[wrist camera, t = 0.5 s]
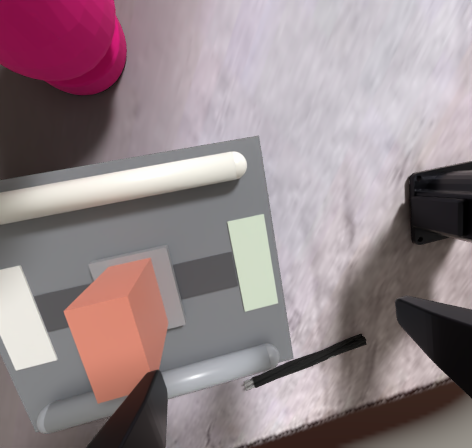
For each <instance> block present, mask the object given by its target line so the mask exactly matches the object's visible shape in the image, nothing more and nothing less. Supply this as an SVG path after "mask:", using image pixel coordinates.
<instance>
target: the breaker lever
mask: <svg viewBox="0 0 472 448" xmlns="http://www.w3.org/2000/svg"><path fill="white" fill-rule="evenodd" d="M88 265H89V268H90V271H91V274H92V277H93V280H94V282H93V283H92V284H91V285H90V286H89V287H87V288H86V289H85V290H84V291H83V292H82V293H81V294H80V295H79V296H78V297H77V298H76V299H75V300H74V301H73V302H72V303H71V304H70V305H69V306H68V307H67V308H66V309H65V310H64V314H65V317H66V319H67V322H68V325H69V328H70V330H71V333H72V336H73V338H74V341H75V344H76V346H77V349H78V352H79V354H80V357H81V360H82V363H83V365H84V368H85V371H86V373H87V376H88V379H89V381H90V384H91V387H92V389H93V392H94V395H95V397H96V400H97V403H98V404H99V403H102V402H106V401H109V400H113V399H116V398H120V397H123V396H127V395H129V394H130V393H131V391H132V390H133V389H134V388H135V387H136V385H137V384H138V383H139V382H140V380H141V379H142V378H143V377H144V375H145V374H146V373H147V372H150V371H153V370H157V369H158V370H159V367H160V362H161V357H162V353H163V348H164V343H165V338H166V333H167V329H171V328H175V327H179V326H182V325H186V316H185V312H184V308H183V304H182V300H181V297H180V293H179V289H178V285H177V281H176V277H175V273H174V269H173V265H172V261H171V257H170V253H169V249H168V245H164V246H159V247H155V248H150V249H145V250H141V251H136V252H131V253H127V254H122V255H118V256H113V257H108V258H104V259H99V260H95V261H92V262H91V263H89V264H88Z"/></svg>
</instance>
